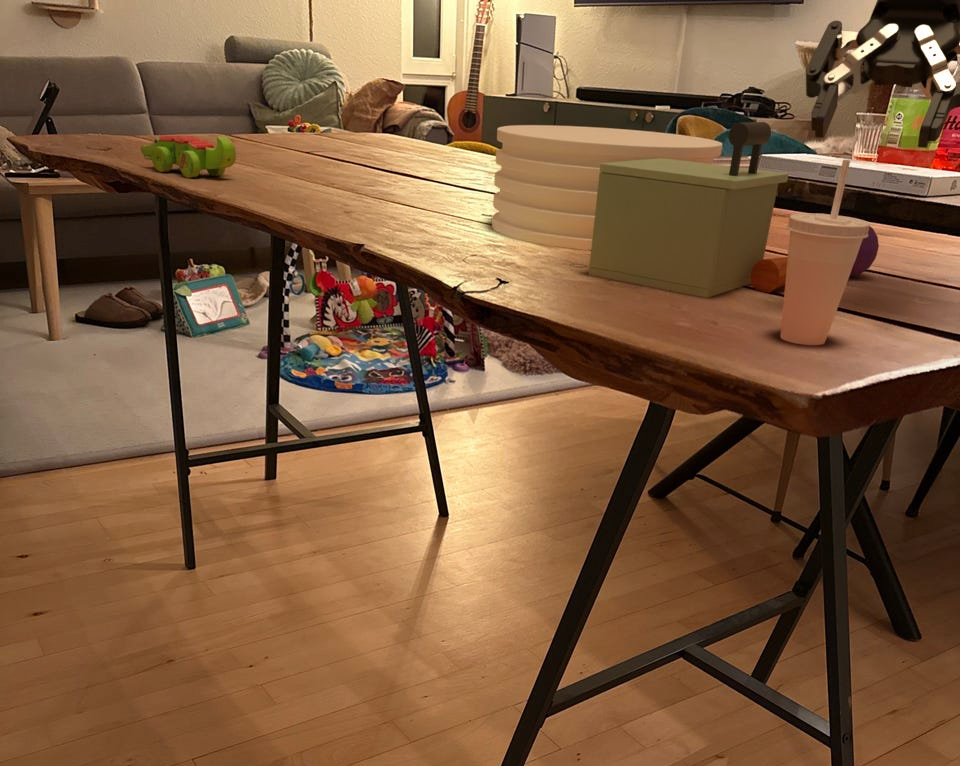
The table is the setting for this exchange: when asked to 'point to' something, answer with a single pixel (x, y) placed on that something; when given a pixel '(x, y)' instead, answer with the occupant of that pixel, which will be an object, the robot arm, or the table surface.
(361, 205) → the table surface
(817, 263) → the smoothie
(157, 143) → the toy crocodile
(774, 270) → the kendama
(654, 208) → the compartment
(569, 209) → the plate stack
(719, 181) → the compartment lid
